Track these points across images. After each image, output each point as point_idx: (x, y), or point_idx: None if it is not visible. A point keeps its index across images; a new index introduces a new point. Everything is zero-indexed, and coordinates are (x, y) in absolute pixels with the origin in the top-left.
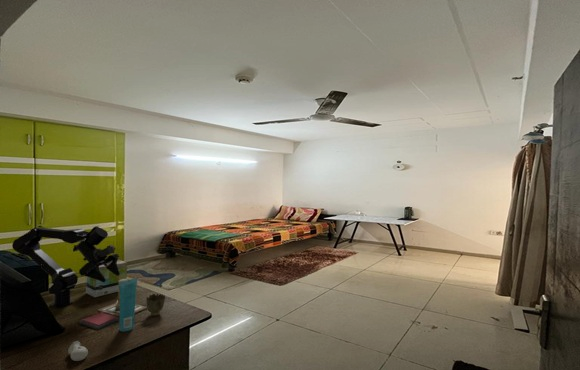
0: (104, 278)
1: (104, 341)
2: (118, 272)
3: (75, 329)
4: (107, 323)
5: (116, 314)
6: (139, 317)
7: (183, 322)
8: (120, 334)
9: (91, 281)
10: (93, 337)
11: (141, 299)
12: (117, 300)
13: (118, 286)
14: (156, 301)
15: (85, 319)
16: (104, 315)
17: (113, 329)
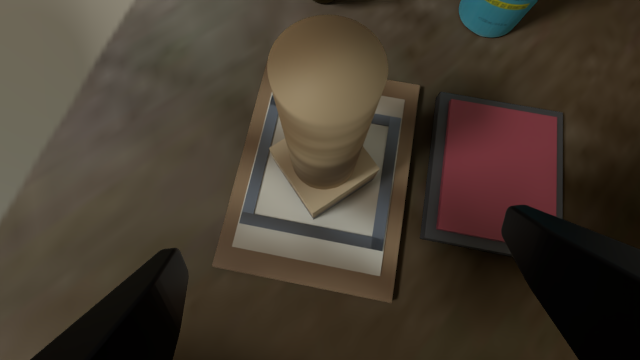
0: (547, 221)
1: (606, 21)
2: (158, 267)
3: (604, 222)
4: (507, 105)
5: (402, 144)
6: None
7: None
8: (534, 5)
9: None
10: (608, 83)
11: (151, 176)
12: (314, 211)
13: (362, 134)
14: None
15: None
16: (462, 173)
17: (516, 59)
